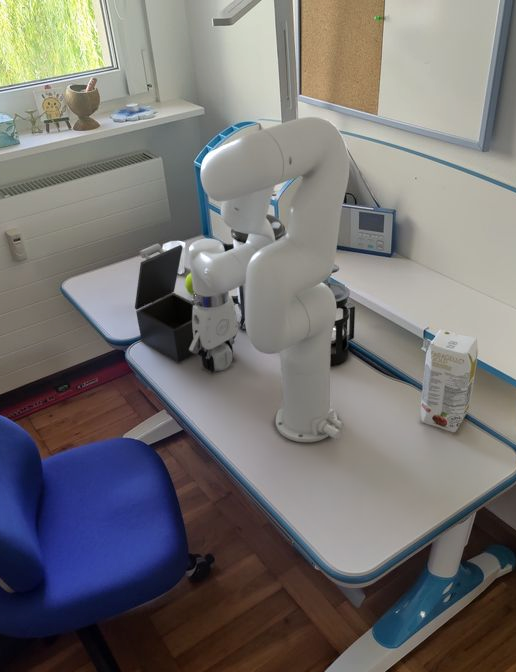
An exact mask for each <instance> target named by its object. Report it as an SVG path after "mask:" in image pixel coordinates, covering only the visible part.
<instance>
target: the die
mask: <svg viewBox="0 0 516 672" xmlns="http://www.w3.org/2000/svg"><path fill="white" fill-rule="evenodd" d="M205 352H206V349H205ZM211 356H212V357H213V362H214V372H215V371H216V372H217V371H218V372H219V371H224V370H226V369H227V368H228V367H229V366H230V365H231V364H232V361H233V360H232V358H233V359H234V353H233V354H232V351H231V349H230V347H229V346H228V345H227V344H226V343H224V342H223V343H222V344H220V345H218V346H216V347H215V348H213V349H212V351H211Z"/></svg>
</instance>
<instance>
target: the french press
mask: <svg viewBox="0 0 516 672" xmlns="http://www.w3.org/2000/svg"><path fill="white" fill-rule="evenodd" d="M339 270H340V267H339V265H337V264H334V267H333V270H332V273H331V275H330V276H329V277H328V278H327V279H328V280H327V281H328V282H323V283H324V284H326V285H327V286H328V287H329V288H330V289H331V291H332V292H333V294H334V297H335V300H336V307H337V309H341V310H342V318H340V319H335V323H334V328H333V332H332V338H331V347H334V348H335V350H334V351H335V352H334V353H331V359H330V368H331V367H332V368H333V367H337V366H340V365H343V364H344V363H346V362H347V361H348V359H349V358H350V353H349V341H351V340H354V338H355V319H356V307H355V305H354V304H352V303H348V298H349V296H350V295H351V292H350V289H349V288H348V287H347V286H346V285H344V284H342V283H338V282H331V276H332V274H335V273H337V272H339ZM348 321H349V322H348ZM348 324H349V325H348Z"/></svg>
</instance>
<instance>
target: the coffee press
mask: <svg viewBox="0 0 516 672" xmlns="http://www.w3.org/2000/svg"><path fill="white" fill-rule="evenodd" d="M266 218H267V220H268V221H269V223H270V224H271V226H272V229H273V232H274V236H275V242H277V241H279V240H280V239H282V238H283V237H284V236H285V234H286V231H287V229H286V227H285V224H283V222H282V221H281V219H279V218H278V217H277V216H274V215H272V214H268V213H267V216H266ZM248 235H249V234H246V233H241V232H238V231H235V230H233V229H231V228H230V236H231V238H232V240H233V243H222V244H223V246H224V251H225V252H226V251H229V250H231V249H233V248H236V247H238V246H241V245H243V244H245V243H246V241H247V239H248ZM236 289H237V295H231V297H232V299H233V302H234V305H235V304H236V305H237V307H238V312H239V316H240V321H239V323H241V327H240V328H239V330H241V331H246V325H245V294H246V283H245V284H243V285H241V286H239V287H237V288H236Z"/></svg>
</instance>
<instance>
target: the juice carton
mask: <svg viewBox="0 0 516 672" xmlns="http://www.w3.org/2000/svg"><path fill="white" fill-rule="evenodd" d="M478 347H479V346H478V337H475V336H469V335H462V334H457V333H455V332H452V331H449V330H447V329H444V328H441V329H440V330H438V331H437V334H436V335H435V337H434V338H433V339H432V340H431V341H430V342H429V345H428V348H427V351H426V354H425V363H424V372H423V383H422V389H421V400H420V416H421V417H420V419H421V422H422V423H424V424H425V425H426V424H427V425H429V426H433V427H436V428H440V429H443V430H444V431H447V432H451V433H456V432H457V430H459V427H460V425H462V422H463V420H464V419H465V417H466V415H467V413H468V412H469V410H470V405H471V400H472V393H473V387H474V381H475V376H476V375H475V374H476V368H477V363H478V355H479V349H478Z"/></svg>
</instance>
